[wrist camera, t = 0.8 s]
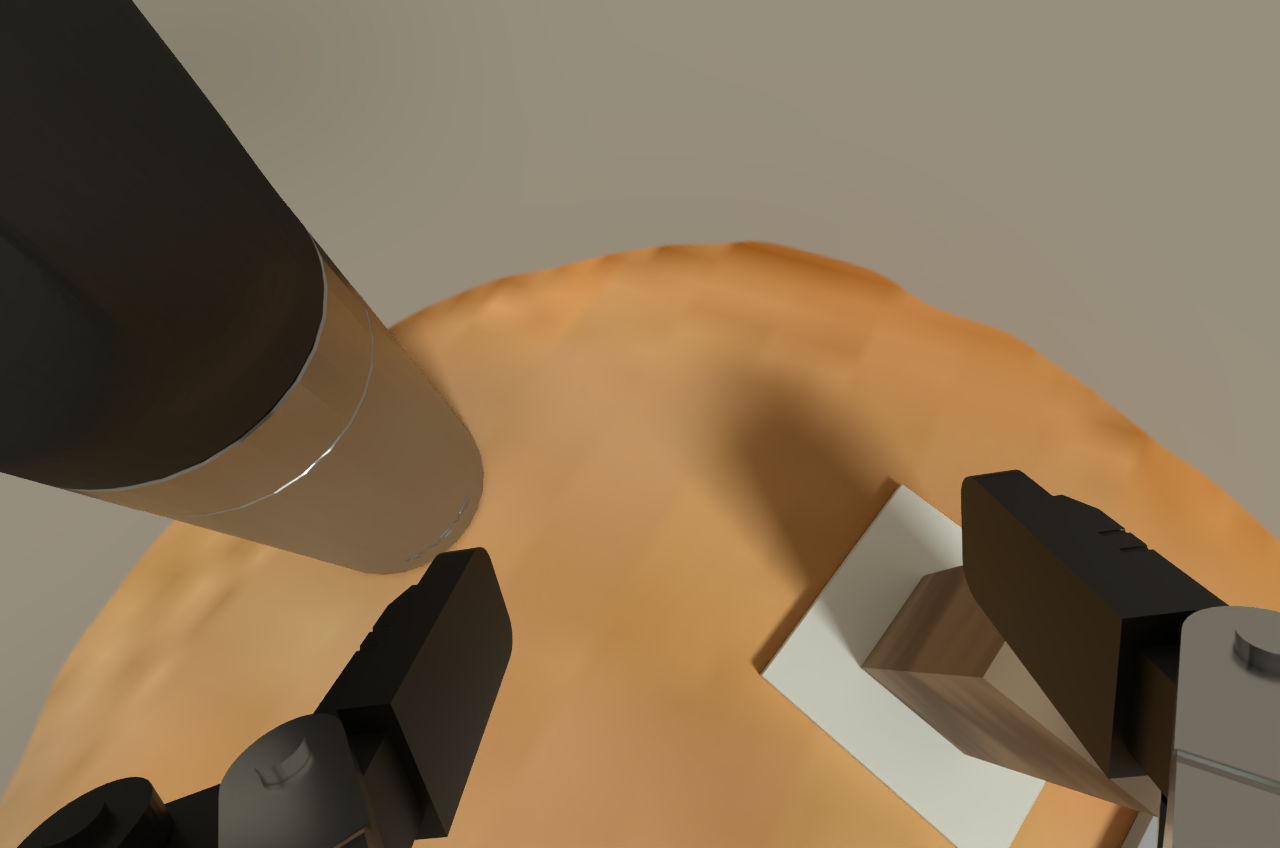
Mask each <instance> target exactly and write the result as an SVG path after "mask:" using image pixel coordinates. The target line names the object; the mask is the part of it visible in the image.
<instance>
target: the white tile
mask: <svg viewBox="0 0 1280 848" xmlns="http://www.w3.org/2000/svg"><path fill="white" fill-rule="evenodd" d="M962 565H963V561H962V528H961V527H960V526H958V525H957V524H955V523H954V522H953V521H951V520H950V519H949V518H947V517H946V516H945V515H943V514H942V513H941V512H939V511H938V510H937V509H935V508H934V507H933V506H931V505H930V504H928V503H927V502H926V501H924V500H923V499H922V498H920V497H919V496H918V495H916V494H915V493H914V492H912V491H911V490H910V489H908V488H907V487H905V486H904V485H903V484H902V485H900V486H899V487H898V488H897V489H896V490H895V492H894V493H893V494H892V496H891V497H890V499H889V500H888V501H887V503H886V504H885V505H884V507H883V508H882V509H881V511H880V512H879V514H878V515H877V516H876V518H875V519H874V520H873V522H872V523H871V524H870V526H869V527H868V528H867V530H866V531H865V533H864V534H863V535H862V537H861V538H860V539H859V541H858V542H857V543H856V545H855V546H854V548H853V549H852V550H851V552H850V553H849V554H848V556H847V557H846V558H845V560H844V561H843V563H842V564H841V565H840V567H839V568H838V569H837V571H836V572H835V573H834V575H833V576H832V577H831V579H830V580H829V582H828V583H827V584H826V586H825V587H824V588H823V590H822V591H821V592H820V594H819V595H818V597H817V598H816V599H815V601H814V602H813V603H812V605H811V606H810V607H809V609H808V610H807V611H806V613H805V614H804V616H803V617H802V618H801V620H800V621H799V622H798V624H797V625H796V626H795V628H794V629H793V631H792V632H791V633H790V635H789V636H788V637H787V639H786V640H785V641H784V643H783V644H782V645H781V647H780V648H779V650H778V651H777V652H776V654H775V655H774V656H773V658H772V659H771V660H770V662H769V663H768V665H767V666H766V667H765V669H764V670H763V671H762V673H761V674H760V676H761V677H762V678H764V679H765V680H766V681H767V682H768V683H769V684H770V685H772V686H773V687H774V688H775V689H776V690H777V691H778V692H780V693H781V694H782V695H783V696H784V697H785V698H786V699H788V700H789V701H790V702H791V703H792V704H793V705H794V706H796V707H797V708H798V709H799V710H800V711H801V712H802V713H804V714H805V715H806V716H807V717H808V718H809V719H810V720H811V721H813V722H814V723H815V724H816V725H817V726H818V727H819V728H821V729H822V730H823V731H824V732H825V733H826V734H827V735H829V736H830V737H831V738H832V739H833V740H834V741H835V742H837V743H838V744H839V745H840V746H841V747H842V748H843V749H845V750H846V751H847V752H848V753H849V754H850V755H851V756H853V757H854V758H855V759H856V760H857V761H858V762H859V763H861V764H862V765H863V766H864V767H865V768H866V769H867V770H869V771H870V772H871V773H872V774H873V775H874V776H875V777H877V778H878V779H879V780H880V781H881V782H882V783H883V784H885V785H886V786H887V787H888V788H889V789H890V790H891V791H893V792H894V793H895V794H896V795H897V796H898V797H899V798H901V799H902V800H903V801H904V802H905V803H906V804H907V805H909V806H910V807H911V808H912V809H913V810H914V811H915V812H917V813H918V814H919V815H920V816H921V817H922V818H923V819H925V820H926V821H927V822H928V823H929V824H930V825H931V826H932V827H934V828H935V829H936V830H937V831H938V832H939V833H940V834H942V835H943V836H944V837H945V838H946V839H947V840H948V841H950V842H951V843H952V844H953V845H954V846H955V847H956V848H1009V846H1010V844H1011V843H1012V841H1013V839H1014V837H1015V836H1016V834H1017V832H1018V830H1019V828H1020V827H1021V825H1022V823H1023V821H1024V819H1025V818H1026V816H1027V814H1028V812H1029V810H1030V809H1031V807H1032V805H1033V803H1034V802H1035V800H1036V798H1037V796H1038V794H1039V793H1040V791H1041V789H1042V787H1043V785H1044V784H1045V782H1046V781H1045V780H1042V779H1038V778H1035V777H1032V776H1029V775H1026V774H1023V773H1020V772H1017V771H1014V770H1011V769H1008V768H1005V767H1002V766H999V765H996V764H992V763H989V762H986V761H983V760H980V759H977V758H974V757H971V756H968V755H965V754H963V753H962V752H961V751H960V750H959V749H957V748H956V747H955V746H954V745H953V744H951V743H950V742H949V741H948V740H947V739H945V738H944V737H943V736H942V735H941V734H939V733H938V732H937V731H936V730H935V729H933V728H932V727H931V726H930V725H929V724H927V723H926V722H925V721H924V720H923V719H921V718H920V717H919V716H918V715H917V714H915V713H914V712H913V711H912V710H911V709H909V708H908V707H907V706H906V705H905V704H903V703H902V702H901V701H900V700H899V699H897V698H896V697H895V696H894V695H893V694H891V693H890V692H889V691H888V690H887V689H885V688H884V687H883V686H882V685H881V684H879V683H878V682H877V681H876V680H875V679H873V678H872V677H871V676H870V675H869V674H867V673H866V672H865V671H864V670H863V669H861V668H860V667H861V666H862V664H863V663H864V662H865V660H866V659H867V657H868V656H869V654H870V653H871V651H872V650H873V648H874V647H875V646H876V644H877V643H878V641H879V640H880V638H881V637H882V635H883V634H884V632H885V631H886V629H887V628H888V627H889V625H890V624H891V622H892V621H893V619H894V618H895V616H896V615H897V613H898V612H899V611H900V609H901V608H902V606H903V605H904V603H905V602H906V600H907V599H908V597H909V596H910V595H911V593H912V592H913V590H914V589H915V587H916V586H917V584H918V583H919V581H920V580H921V578H922V577H923V576H924V575H928V574H931V573H935V572H939V571H943V570H947V569H950V568H954V567H958V566H962Z"/></svg>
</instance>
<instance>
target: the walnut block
mask: <svg viewBox="0 0 1280 848" xmlns="http://www.w3.org/2000/svg"><path fill="white" fill-rule="evenodd" d="M860 668H861V669H863V670H864V671H865V672H866V673H867V674H869V675H870V676H871V677H872V678H873V679H875V680H876V681H877V682H878V683H879V684H881V685H882V686H883V687H884V688H885V689H887V690H888V691H889V692H890V693H891V694H893V695H894V696H895V697H896V698H897V699H899V700H900V701H901V702H902V703H903V704H905V705H906V706H907V707H908V708H909V709H911V710H912V711H913V712H914V713H915V714H917V715H918V716H919V717H920V718H921V719H923V720H924V721H925V722H926V723H927V724H929V725H930V726H931V727H932V728H933V729H935V730H936V731H937V732H938V733H939V734H941V735H942V736H943V737H944V738H945V739H947V740H948V741H949V742H950V743H951V744H953V745H954V746H955V747H956V748H957V749H959V750H960V751H961V752H962V753H963V754H965V755H968V756H971V757H974V758H977V759H980V760H983V761H986V762H989V763H992V764H996V765H999V766H1002V767H1005V768H1008V769H1011V770H1014V771H1017V772H1020V773H1023V774H1026V775H1029V776H1032V777H1035V778H1038V779H1042V780H1045V781H1048V782H1051V783H1054V784H1057V785H1060V786H1063V787H1066V788H1069V789H1072V790H1075V791H1078V792H1081V793H1084V794H1088V795H1091V796H1094V797H1097V798H1100V799H1103V800H1106V801H1109V802H1112V803H1115V804H1118V805H1121V806H1124V807H1127V808H1130V809H1134V810H1137V811H1140V812H1143V813H1146V814H1149V815H1152V816H1155V817H1158V811H1159V803H1160V796H1161V791H1160V789H1159V788H1158V787H1157V786H1156V785H1155V783H1154V782H1153V781H1152V780H1151V778H1150V777H1149V776H1137V777H1126V778H1115V779H1108V778H1107V777H1106V776H1105V774H1104V773H1103V772H1102V770H1101V769H1100V767H1099V766H1098V765H1097V763H1096V762H1095V761H1094V759H1093V758H1092V757H1091V755H1090V754H1089V753H1088V751H1087V750H1086V749H1085V747H1084V746H1083V745H1082V743H1081V742H1080V741H1079V739H1078V738H1077V737H1076V735H1075V734H1074V732H1073V731H1072V730H1071V728H1070V727H1069V726H1068V724H1067V723H1066V722H1065V720H1064V719H1063V718H1062V716H1061V715H1060V714H1059V712H1058V711H1057V710H1056V708H1055V707H1054V706H1053V704H1052V703H1051V702H1050V700H1049V699H1048V698H1047V696H1046V695H1045V693H1044V692H1043V691H1042V689H1041V688H1040V687H1039V685H1038V684H1037V683H1036V681H1035V680H1034V679H1033V677H1032V676H1031V675H1030V673H1029V672H1028V671H1027V669H1026V668H1025V667H1024V665H1023V664H1022V663H1021V661H1020V660H1019V659H1018V657H1017V656H1016V654H1015V653H1014V652H1013V650H1012V649H1011V648H1010V646H1009V645H1008V644H1007V642H1006V641H1005V640H1004V638H1003V637H1002V636H1001V634H1000V633H999V632H998V630H997V629H996V628H995V626H994V625H993V624H992V622H991V621H990V619H989V618H988V617H987V615H986V614H985V613H984V611H983V610H982V609H981V607H980V606H979V605H978V603H977V602H976V601H975V599H974V597H973V596H972V594H971V591H970V589H969V587H968V584H967V581H966V578H965V574H964V569H963V565H962V566H958V567H954V568H950V569H947V570H943V571H939V572H935V573H931V574H928V575H924V576H923V577H922V578H921V580H920V581H919V583H918V584H917V586H916V587H915V589H914V590H913V592H912V593H911V595H910V596H909V597H908V599H907V600H906V602H905V603H904V605H903V606H902V608H901V609H900V611H899V612H898V613H897V615H896V616H895V618H894V619H893V621H892V622H891V624H890V625H889V627H888V628H887V629H886V631H885V632H884V634H883V635H882V637H881V638H880V640H879V641H878V643H877V644H876V646H875V647H874V648H873V650H872V651H871V653H870V654H869V656H868V657H867V659H866V660H865V662H864V663H863V664H862V666H861V667H860Z"/></svg>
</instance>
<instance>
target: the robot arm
mask: <svg viewBox="0 0 1280 848" xmlns="http://www.w3.org/2000/svg"><path fill="white" fill-rule="evenodd" d="M0 472H2V473H6V474H10V475H13V476H17V477H20V478H24V479H28V480H32V481H35V482H39V483H42V484H45V485H50V486H53V487H56V488H60V489H64V490H67V491H71V492H75V493H78V494H82V495H86V496H89V497H93V498H96V499H100V500H103V501H107V502H111V503H115V504H118V505H122V506H125V507H129V508H132V509H136V510H140V511H145V512H149V513H152V514H156V515H160V516H163V517H167V518H171V519H174V520H178V521H181V522H185V523H188V524H192V525H196V526H199V527H203V528H206V529H210V530H214V531H217V532H221V533H225V534H228V535H232V536H235V537H239V538H243V539H246V540H250V541H253V542H257V543H261V544H264V545H268V546H271V547H275V548H279V549H282V550H286V551H289V552H293V553H297V554H300V555H304V556H307V557H311V558H315V559H317V560H321V561H325V562H328V563H332V564H336V565H339V566H343V567H346V568H350V569H354V570H357V571H361V572H365V573H375V574H391V573H399V572H405V571H408V570H411V569H414V568H417V567H420V566H423V565H425V564H426V563H428V562H430V561H432V560H433V559H434V560H433V562H432V563H431V565H430V566H429V568H428V569H427V571H426V572H425V574H424V575H423V577H422V579H421V580H420V582H419V583H418V585H412V586H411V587H410V588H408V589H407V590H406V591H405V592H404V593H402V594H401V595H400V596H399V597H398V598H396V599H395V600H394V601H393V602H392V603H390V604H389V605H388V606H387V608H386V609H385V610H384V612H383V613H382V615H381V616H380V618H379V619H378V621H377V622H376V624H375V625H374V626H373V632H369V634H368V635H367V637H366V638H365V639H364V641H363V642H362V644H361V645H360V651H356V652H355V654H354V655H353V657H352V658H351V660H350V661H349V663H348V664H347V665H346V667H345V668H344V670H343V671H342V673H341V674H340V676H339V677H338V679H337V680H336V681H335V683H334V684H333V686H332V687H331V689H330V690H329V692H328V693H327V694H326V696H325V697H324V699H323V700H322V702H321V703H320V705H319V706H318V707H317V709H316V710H315V712H314V713H313V714H311V715H306V716H302V717H299V718H296V719H293V720H291V721H288V722H286V723H284V724H282V725H280V726H278V727H276V728H275V729H273V730H271V731H269V732H268V733H266V734H265V735H263V736H262V737H261V738H259V739H258V740H257V741H255V742H254V743H253V744H252V745H250V746H249V747H248V748H247V749H246V750H245V751H244V752H243V753H242V754H241V755H240V756H239V757H238V758H237V759H236V760H235V761H234V763H233V764H232V765H231V767H230V768H229V769H228V771H227V772H226V774H225V776H224V778H223V780H222V782H221V784H218V785H216V786H213V787H210V788H207V789H205V790H202V791H199V792H197V793H194V794H191V795H188V796H186V797H183V798H180V799H177V800H175V801H172V802H169V803H167V804H164V803H163V802H162V800H161V798H160V797H159V795H158V794H157V792H156V790H155V789H154V787H153V786H152V784H151V783H150V782H149V781H148V780H147V779H144V778H141V777H129V778H124V779H119V780H116V781H113V782H110V783H107V784H105V785H102V786H100V787H98V788H95V789H93V790H92V791H90V792H88V793H86V794H84V795H82V796H80V797H79V798H77V799H75V800H74V801H72V802H70V803H69V804H67V805H66V806H64V807H63V808H61V809H60V810H58V811H57V812H56V813H55V814H53V815H52V816H51V817H49V818H48V819H47V820H45V821H44V822H43V823H42V824H41V825H40V826H38V827H37V828H36V829H35V830H34V831H33V832H32V833H31V834H30V835H29V836H28V837H27V838H26V839H25V840H24V841H23V842H22V843H21V844H20V845H19V846H18V847H17V848H412V845H413V843H414V840H418V839H429V838H440V837H447V836H448V833H449V830H450V828H451V825H452V822H453V819H454V816H455V813H456V810H457V808H458V805H459V802H460V799H461V796H462V793H463V790H464V788H465V785H466V782H467V779H468V776H469V773H470V770H471V768H472V765H473V762H474V759H475V756H476V753H477V750H478V748H479V745H480V742H481V739H482V736H483V733H484V731H485V728H486V725H487V722H488V719H489V716H490V713H491V711H492V708H493V705H494V702H495V699H496V696H497V693H498V691H499V688H500V685H501V682H502V679H503V676H504V673H505V671H506V668H507V665H508V662H509V659H510V656H511V651H512V628H511V622H510V618H509V615H508V612H507V609H506V606H505V602H504V599H503V596H502V593H501V590H500V587H499V584H498V581H497V578H496V574H495V571H494V568H493V565H492V562H491V559H490V556H489V554H488V553H487V551H486V550H485V549H484V548H482V547H477V548H471V549H464V550H457V551H450V552H445V551H446V550H447V549H449V548H450V547H451V546H452V545H453V544H454V543H456V542H457V540H458V539H459V538H460V536H461V535H462V534H463V533H464V531H465V530H466V529H467V528H468V526H469V524H470V522H471V520H472V519H473V517H474V515H475V513H476V511H477V509H478V505H479V501H480V498H481V494H482V490H483V474H484V472H483V466H482V460H481V455H480V453H479V450H478V448H477V445H476V443H475V440H474V439H473V438H472V436H471V435H470V433H469V432H468V431H467V429H466V428H465V426H464V425H463V424H462V423H461V421H460V420H459V419H458V418H457V416H456V415H455V414H454V413H453V411H452V410H451V409H450V407H449V406H448V405H447V403H446V402H445V401H444V400H443V398H442V397H441V396H440V395H439V393H438V392H437V391H436V390H435V388H434V387H433V386H432V385H431V383H430V382H429V381H428V380H427V378H426V377H425V376H424V375H423V373H422V372H421V371H420V370H419V368H418V367H417V366H416V365H415V363H414V362H413V361H412V360H411V358H410V357H409V356H408V355H407V353H406V352H405V351H404V350H403V348H402V347H401V346H400V345H399V343H398V342H397V341H396V340H395V338H394V337H393V336H392V335H391V333H390V332H389V331H388V330H387V328H386V327H385V326H384V325H383V323H382V322H381V321H380V320H379V318H378V317H377V316H376V315H375V314H374V312H373V311H372V310H371V308H370V307H369V306H368V305H367V303H366V302H365V301H364V300H363V298H362V297H361V296H360V295H359V293H358V292H357V291H356V290H355V289H354V288H353V286H352V285H351V284H350V283H349V282H348V280H347V279H346V278H345V277H344V275H343V274H342V273H341V272H340V270H339V269H338V268H337V267H336V265H335V264H334V263H333V262H332V260H331V259H330V258H329V257H328V255H327V254H326V253H325V252H324V250H323V249H322V248H321V247H320V245H319V244H318V243H317V242H316V241H315V239H314V238H313V237H312V236H311V234H310V233H309V232H308V231H307V230H306V228H305V227H304V225H303V224H302V223H301V222H300V220H299V219H298V218H297V217H296V216H295V215H294V213H293V212H292V211H291V209H290V208H289V207H288V206H287V204H286V203H285V202H284V201H283V200H282V198H281V197H280V196H279V195H278V193H277V192H276V191H275V189H274V188H273V187H272V185H271V184H270V183H269V181H268V180H267V179H266V177H265V176H264V175H263V173H262V172H261V171H260V169H259V168H258V167H257V165H256V164H255V163H254V161H253V160H252V158H251V157H250V156H249V154H248V153H247V152H246V150H245V149H244V148H243V146H242V145H241V143H240V142H239V141H238V139H237V138H236V136H235V135H234V134H233V133H232V131H231V129H230V128H229V127H228V125H227V124H226V122H225V121H224V120H223V119H222V117H221V116H220V115H219V113H218V112H217V110H216V109H215V108H214V107H213V105H212V104H211V103H210V101H209V100H208V99H207V97H206V96H205V95H204V93H203V92H202V91H201V89H200V88H199V87H198V85H197V84H196V83H195V81H194V80H193V79H192V78H191V76H190V75H189V74H188V72H187V71H186V70H185V69H184V67H183V66H182V65H181V63H180V62H179V61H178V59H177V58H176V57H175V55H174V54H173V53H172V52H171V50H170V49H169V48H168V46H167V45H166V44H165V43H164V41H163V40H162V39H161V38H160V36H159V35H158V33H157V32H156V31H155V30H154V28H153V27H152V26H151V24H150V23H149V22H148V21H147V19H146V18H145V17H144V15H143V14H142V13H141V12H140V10H139V9H138V8H137V6H136V5H135V4H134V2H133V1H132V0H0ZM961 514H962V561H963V569H964V574H965V578H966V581H967V584H968V587H969V589H970V591H971V594H972V596H973V597H974V599H975V601H976V602H977V603H978V605H979V606H980V607H981V609H982V610H983V611H984V613H985V614H986V615H987V617H988V618H989V619H990V621H991V622H992V624H993V625H994V626H995V628H996V629H997V630H998V632H999V633H1000V634H1001V636H1002V637H1003V638H1004V640H1005V641H1006V642H1007V644H1008V645H1009V646H1010V648H1011V649H1012V650H1013V652H1014V653H1015V654H1016V656H1017V657H1018V659H1019V660H1020V661H1021V663H1022V664H1023V665H1024V667H1025V668H1026V669H1027V671H1028V672H1029V673H1030V675H1031V676H1032V677H1033V679H1034V680H1035V681H1036V683H1037V684H1038V685H1039V687H1040V688H1041V689H1042V691H1043V692H1044V693H1045V695H1046V696H1047V698H1048V699H1049V700H1050V702H1051V703H1052V704H1053V706H1054V707H1055V708H1056V710H1057V711H1058V712H1059V714H1060V715H1061V716H1062V718H1063V719H1064V720H1065V722H1066V723H1067V724H1068V726H1069V727H1070V728H1071V730H1072V731H1073V732H1074V734H1075V735H1076V737H1077V738H1078V739H1079V741H1080V742H1081V743H1082V745H1083V746H1084V747H1085V749H1086V750H1087V751H1088V753H1089V754H1090V755H1091V757H1092V758H1093V759H1094V761H1095V762H1096V763H1097V765H1098V766H1099V767H1100V769H1101V770H1102V772H1103V773H1104V774H1105V776H1106V777H1107V778H1108V779H1115V778H1126V777H1137V776H1149V777H1150V778H1151V780H1152V781H1153V782H1154V783H1155V785H1156V786H1157V787H1158V788H1159V789H1160V791H1161V796H1160V803H1159V811H1158V824H1157V836H1156V848H1280V612H1275V611H1271V610H1266V609H1260V608H1254V607H1243V606H1229V605H1227V604H1226V603H1225V602H1223V601H1222V600H1220V599H1219V598H1218V597H1216V596H1215V595H1214V594H1212V593H1211V592H1210V591H1208V590H1207V589H1206V588H1204V587H1203V586H1202V585H1200V584H1199V583H1198V582H1196V581H1195V580H1194V579H1192V578H1191V577H1189V576H1188V575H1187V574H1185V573H1184V572H1183V571H1181V570H1180V569H1179V568H1177V567H1176V566H1175V565H1173V564H1172V563H1171V562H1169V561H1168V560H1167V559H1165V558H1164V557H1163V556H1161V555H1160V554H1158V553H1157V552H1156V551H1154V550H1153V549H1152V550H1149V549H1148V548H1147V545H1146V544H1145V543H1144V542H1142V541H1141V540H1140V539H1138V538H1137V537H1136V536H1134V535H1133V534H1131V533H1126V532H1125V528H1123V527H1122V526H1121V525H1119V524H1118V523H1117V522H1115V521H1114V520H1113V519H1111V518H1110V517H1109V516H1107V515H1106V514H1105V513H1103V512H1102V511H1100V510H1099V509H1097V508H1095V507H1092V506H1089V505H1087V504H1084V503H1082V502H1079V501H1077V500H1074V499H1072V498H1069V497H1066V496H1064V495H1057V496H1052V495H1051V494H1049V493H1048V492H1047V491H1046V490H1044V489H1043V488H1042V487H1041V486H1039V485H1038V484H1037V483H1036V482H1034V481H1033V480H1032V479H1030V478H1029V477H1028V476H1027V475H1025V474H1024V473H1023V472H1021V471H1019V470H1009V471H1003V472H996V473H989V474H982V475H975V476H969V477H966V478H965V479H964V480H963V483H962V488H961Z"/></svg>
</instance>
